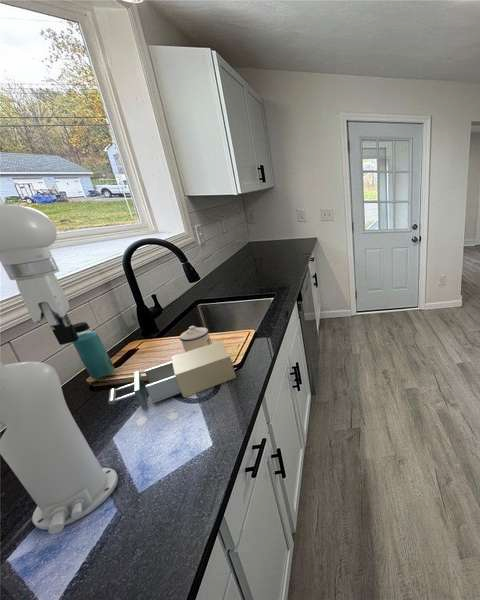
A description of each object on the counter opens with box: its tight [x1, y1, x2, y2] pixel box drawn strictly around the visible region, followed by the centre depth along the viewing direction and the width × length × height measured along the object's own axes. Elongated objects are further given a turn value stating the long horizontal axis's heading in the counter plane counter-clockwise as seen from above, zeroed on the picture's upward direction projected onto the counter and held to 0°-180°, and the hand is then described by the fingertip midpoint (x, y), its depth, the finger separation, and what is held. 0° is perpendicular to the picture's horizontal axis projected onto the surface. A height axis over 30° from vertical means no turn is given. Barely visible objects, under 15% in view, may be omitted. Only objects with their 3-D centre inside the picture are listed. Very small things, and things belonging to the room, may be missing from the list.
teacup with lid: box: [179, 325, 213, 352], centre depth 115 cm, size 12×9×12 cm
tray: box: [108, 361, 182, 410], centre depth 93 cm, size 20×12×6 cm, turn 129°
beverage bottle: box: [72, 321, 115, 379], centre depth 102 cm, size 6×7×20 cm
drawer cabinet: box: [170, 340, 237, 399], centre depth 101 cm, size 15×14×8 cm
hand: (69, 341), depth 76 cm, fingers closed
